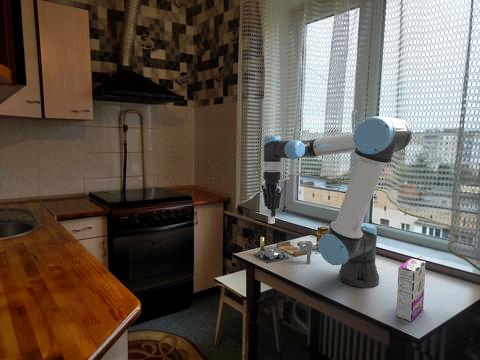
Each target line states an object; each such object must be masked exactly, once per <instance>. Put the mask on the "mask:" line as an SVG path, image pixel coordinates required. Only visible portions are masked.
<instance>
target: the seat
mask: <svg viewBox="0 0 480 360" xmlns="http://www.w3.org/2000/svg"><path fill="white" fill-rule="evenodd" d="M276 248H282V251H285V254H289V255H290V256H292V257H295V258H298V257H301V256H307V254H306V251H301V250H300V248H299V247H298V246H297V247H296V246H295V245H292V244H291V241H288V240H287V241H282V242H278V243H276Z"/></svg>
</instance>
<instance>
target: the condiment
mask: <svg viewBox="0 0 480 360" xmlns="http://www.w3.org/2000/svg"><path fill="white" fill-rule="evenodd" d="M328 230H329V227H325V226H318V227H317V231H316V244H317V242H319V240H320V238H321V237H322V236H323V235H324V234H327V233H328ZM316 244H315V245H316ZM313 248H314V249H315V248H317V247H313ZM315 252H316V253H317V254H321V253H320V251H319V250H318V251H315Z"/></svg>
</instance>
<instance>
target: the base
mask: <svg viewBox="0 0 480 360" xmlns="http://www.w3.org/2000/svg"><path fill="white" fill-rule="evenodd" d="M253 256H254V257H256V258H258V259H259V260H261V261H263V262H265V263H266V264H271V263H276V262H279V261H280V262H281V261H285V260H290V256H289V255H286V254H285V256H283V258H274V259H270V258H261V257H260V255H258V252H255V253H253Z"/></svg>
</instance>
